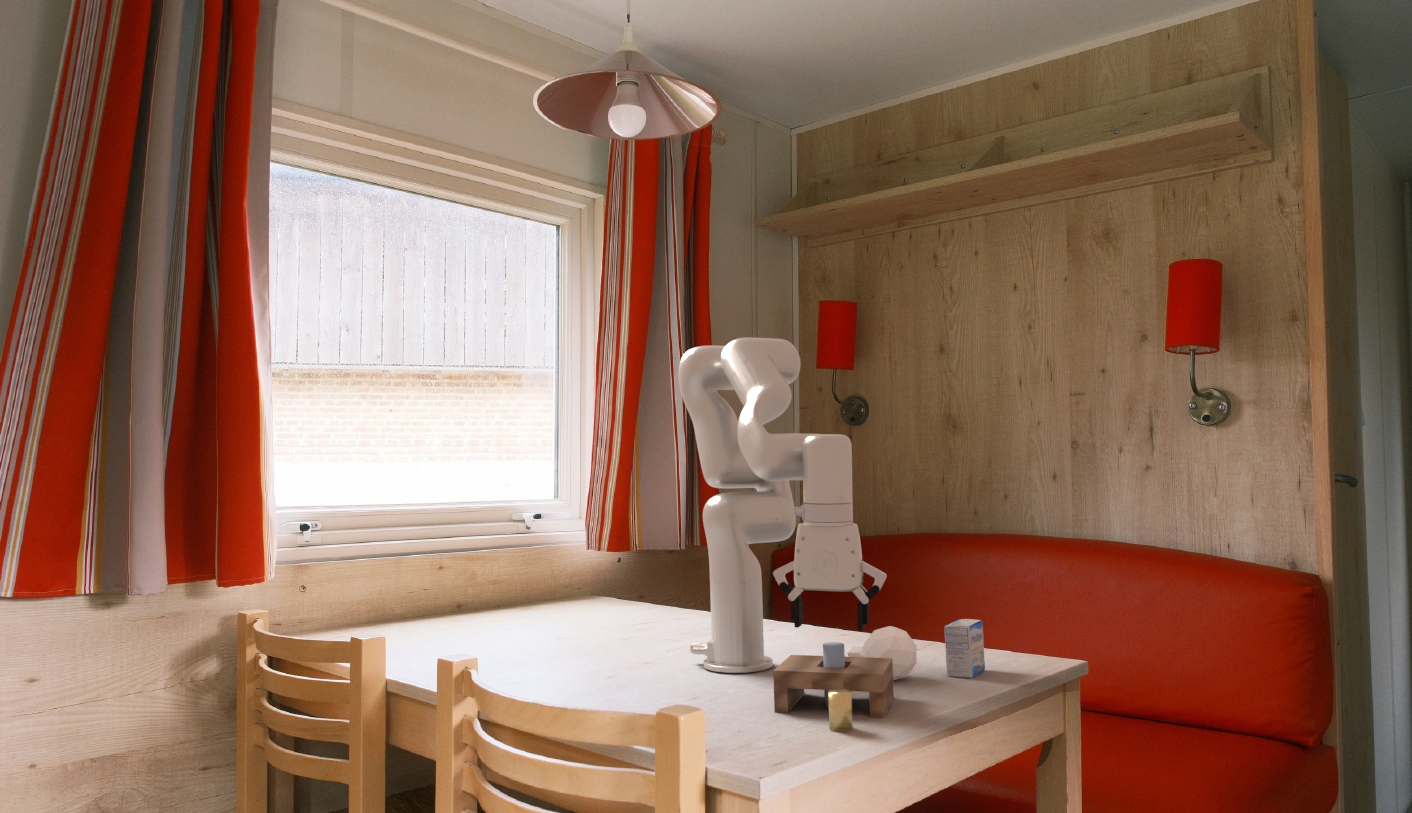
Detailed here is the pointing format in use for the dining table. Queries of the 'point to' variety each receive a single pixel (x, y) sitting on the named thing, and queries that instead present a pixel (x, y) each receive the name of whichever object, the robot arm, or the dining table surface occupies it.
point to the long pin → (833, 658)
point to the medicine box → (964, 648)
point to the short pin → (840, 710)
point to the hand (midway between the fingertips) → (829, 627)
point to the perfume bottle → (890, 649)
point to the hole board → (834, 680)
